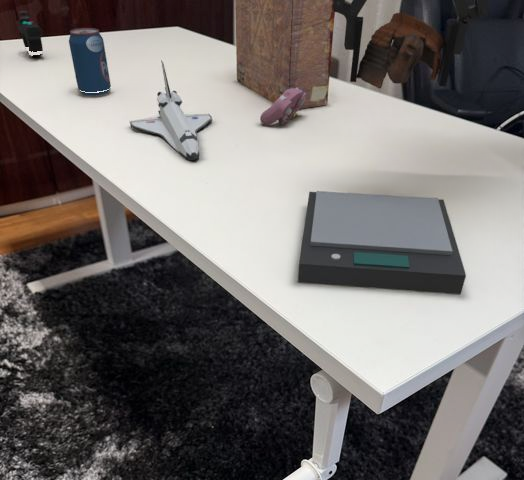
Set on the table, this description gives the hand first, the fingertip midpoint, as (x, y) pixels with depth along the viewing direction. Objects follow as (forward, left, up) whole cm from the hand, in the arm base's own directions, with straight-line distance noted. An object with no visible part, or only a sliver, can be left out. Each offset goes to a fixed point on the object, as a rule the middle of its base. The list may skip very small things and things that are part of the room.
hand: (397, 81), depth 67 cm
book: (+20, -53, -16) cm, 59 cm away
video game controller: (+17, -34, -16) cm, 41 cm away
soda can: (+59, -47, -16) cm, 77 cm away
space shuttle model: (+34, -22, -16) cm, 44 cm away
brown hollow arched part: (0, 0, 0) cm, 0 cm away
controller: (+87, -77, -16) cm, 117 cm away
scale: (+1, +13, -16) cm, 21 cm away
